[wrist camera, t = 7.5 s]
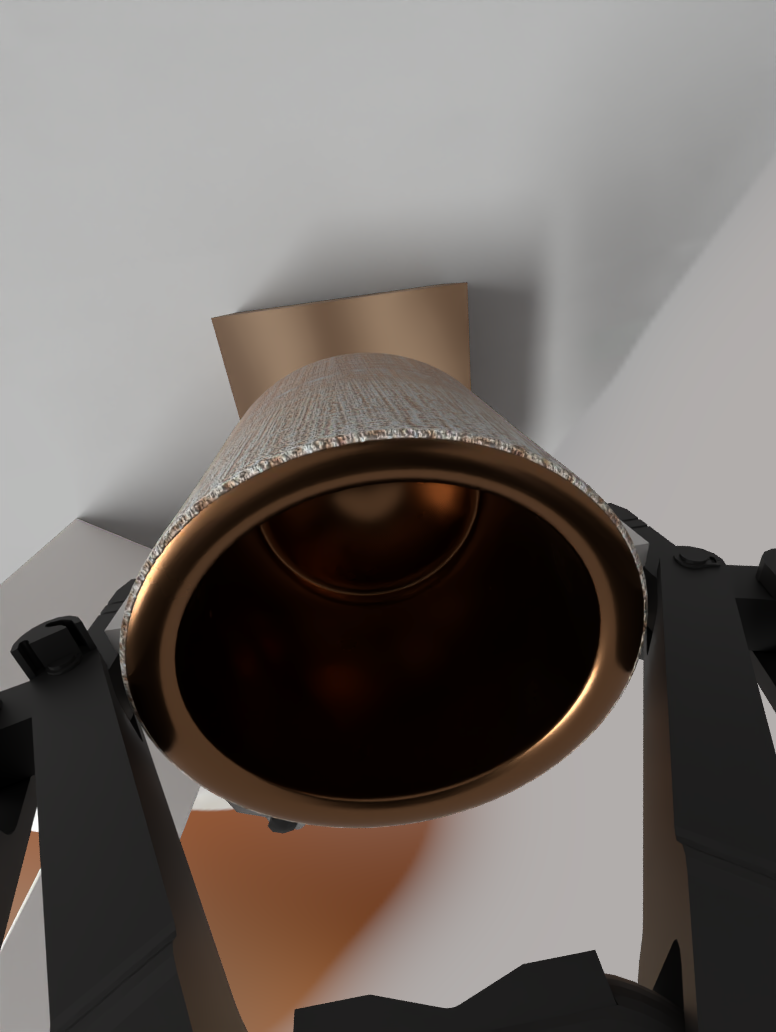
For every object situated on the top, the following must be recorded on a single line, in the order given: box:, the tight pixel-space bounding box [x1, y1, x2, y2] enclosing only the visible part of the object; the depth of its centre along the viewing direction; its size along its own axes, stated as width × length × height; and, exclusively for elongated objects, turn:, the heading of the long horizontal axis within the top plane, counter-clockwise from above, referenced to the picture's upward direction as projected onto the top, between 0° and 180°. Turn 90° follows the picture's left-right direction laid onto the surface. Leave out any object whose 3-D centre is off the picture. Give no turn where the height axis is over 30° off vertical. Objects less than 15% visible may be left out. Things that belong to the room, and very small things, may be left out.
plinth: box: [211, 282, 471, 420], centre depth 30 cm, size 14×14×6 cm
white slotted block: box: [0, 518, 200, 1032], centre depth 29 cm, size 19×15×25 cm
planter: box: [119, 353, 648, 828], centre depth 13 cm, size 11×11×10 cm
